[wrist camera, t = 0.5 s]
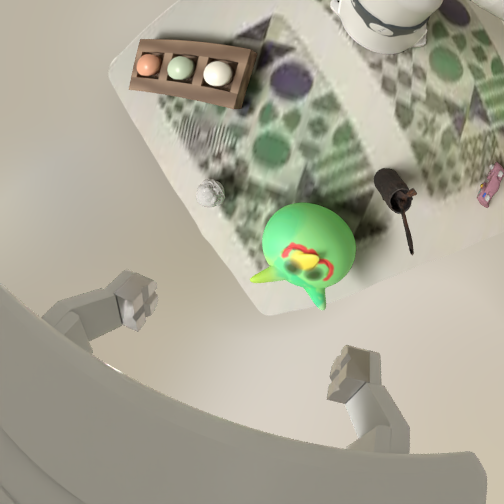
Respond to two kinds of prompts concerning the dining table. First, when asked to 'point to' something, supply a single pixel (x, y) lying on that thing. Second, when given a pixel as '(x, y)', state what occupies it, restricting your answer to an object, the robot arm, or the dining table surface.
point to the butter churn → (395, 196)
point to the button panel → (196, 71)
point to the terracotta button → (149, 65)
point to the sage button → (181, 68)
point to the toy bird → (307, 249)
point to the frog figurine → (210, 193)
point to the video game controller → (491, 184)
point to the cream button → (218, 73)
